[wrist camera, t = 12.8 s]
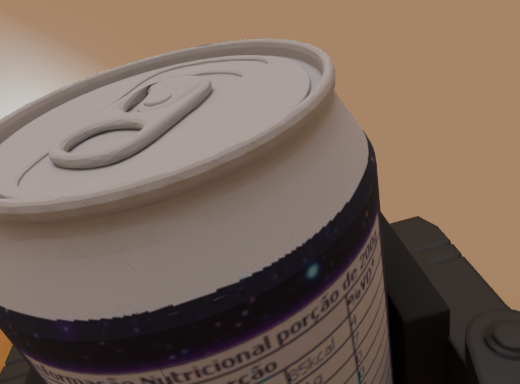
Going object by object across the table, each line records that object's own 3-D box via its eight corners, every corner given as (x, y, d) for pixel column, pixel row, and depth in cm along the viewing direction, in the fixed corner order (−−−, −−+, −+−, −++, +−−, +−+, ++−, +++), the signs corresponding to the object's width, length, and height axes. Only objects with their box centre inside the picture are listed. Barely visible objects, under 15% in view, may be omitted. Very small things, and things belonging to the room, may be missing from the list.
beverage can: (420, 437, 13) (405, 12, 6) (381, 715, 9) (239, 280, 2) (250, 387, 15) (122, 48, 9) (158, 582, 11) (-194, 206, 5)
